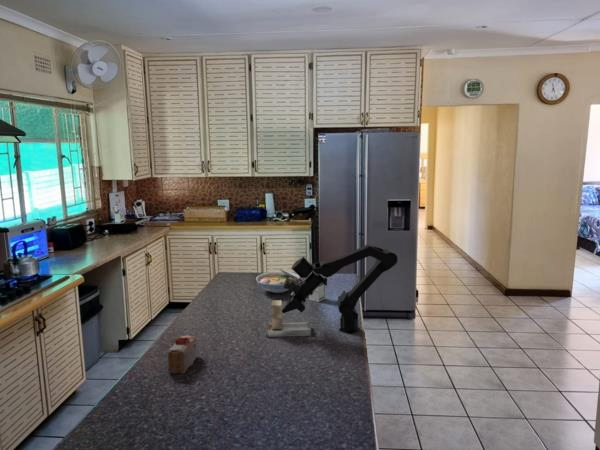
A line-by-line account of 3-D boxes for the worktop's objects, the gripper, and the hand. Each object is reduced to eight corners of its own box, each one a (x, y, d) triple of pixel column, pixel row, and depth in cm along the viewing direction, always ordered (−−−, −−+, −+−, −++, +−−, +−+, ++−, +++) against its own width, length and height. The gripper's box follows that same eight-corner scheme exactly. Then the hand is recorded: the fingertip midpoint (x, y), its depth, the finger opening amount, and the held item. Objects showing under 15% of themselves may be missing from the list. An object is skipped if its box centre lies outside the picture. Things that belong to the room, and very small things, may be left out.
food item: (180, 355, 167) (178, 329, 165) (201, 355, 166) (199, 330, 164) (166, 373, 153) (164, 346, 152) (189, 374, 153) (187, 347, 151)
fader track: (309, 327, 189) (309, 321, 189) (311, 335, 181) (311, 329, 181) (266, 328, 188) (266, 323, 188) (266, 337, 180) (265, 331, 180)
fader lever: (282, 326, 187) (281, 300, 185) (282, 331, 182) (281, 305, 180) (272, 326, 187) (271, 300, 185) (272, 332, 181) (271, 305, 179)
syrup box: (318, 302, 218) (318, 273, 215) (308, 300, 222) (308, 271, 219) (325, 299, 223) (325, 270, 220) (315, 296, 226) (315, 268, 223)
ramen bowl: (249, 287, 242) (249, 272, 241) (288, 281, 252) (288, 267, 250) (266, 302, 220) (265, 285, 218) (308, 294, 229) (308, 279, 228)
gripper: (294, 265, 189) (268, 291, 191) (295, 279, 171) (267, 307, 173) (313, 283, 191) (287, 308, 193) (316, 298, 173) (288, 326, 174)
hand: (282, 312), depth 183 cm, fingers closed, pressing on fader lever
